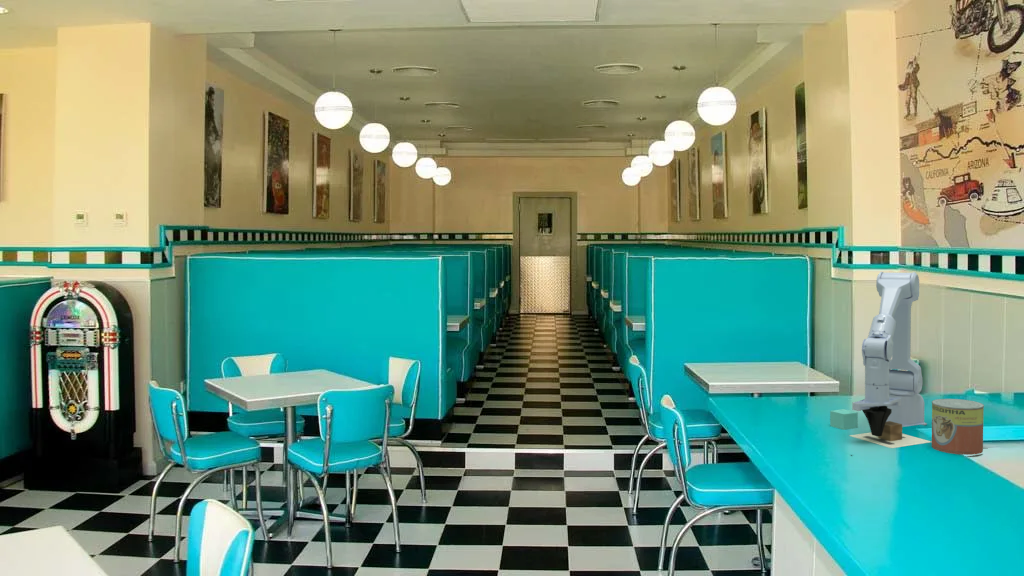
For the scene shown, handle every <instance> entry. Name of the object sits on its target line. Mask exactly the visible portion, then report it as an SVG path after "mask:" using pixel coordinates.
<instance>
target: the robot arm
mask: <svg viewBox="0 0 1024 576" xmlns="http://www.w3.org/2000/svg"><path fill="white" fill-rule="evenodd" d="M875 285H876V291H877V293H878V295H879V297H880V298H881V299H880V303H879V304H880V305H879V311H878V314H876V315H875V316H873V318H872V321H871V325H870V329H869V332H868V336H867V338H864V339H863V340H862V344H861V356H862V359H863V361H862V364H863V366H864V399H861V400H858V401H853V402H852V404H851V405H852V408H851V409H852V410H851V411H855V412H861V411H862V413H863V414H864V416H865V418H866V420H867V423H868V425H869V428H870V432H871V433H872V435H874V436H882V433H883V429H884V426H885V423H886V422H887V421H891V422H895V423H899V424H902V428H904V427H911V426H912V427H913V426H918V425H919V426H920V425H921V426H926V425H928V423H927V422H925V400H924V398H923V396H922V395H921V394H920V392H921V391H922V388H923V383H924V382H923V375H922V367H921V366H920V365H919V364H918V363H917V362H916V361H914V360H913V359H912V358H911V352H912V351H911V344H912V343H911V342H912V340H911V337H912V336H911V335H912V333H911V332H912V331H911V330H912V326H911V325H912V305H913V302H917V301H919V297H920V278H919V274H917V272H916V271H913V272H884V271H880V272H879V273H878V274H877V276H876V284H875Z"/></svg>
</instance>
